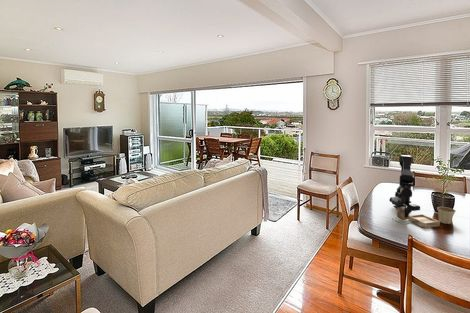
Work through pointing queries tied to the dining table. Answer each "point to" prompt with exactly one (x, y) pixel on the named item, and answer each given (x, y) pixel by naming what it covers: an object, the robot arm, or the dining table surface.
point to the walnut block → (401, 213)
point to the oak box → (424, 221)
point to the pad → (402, 221)
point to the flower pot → (445, 214)
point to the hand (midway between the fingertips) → (402, 216)
